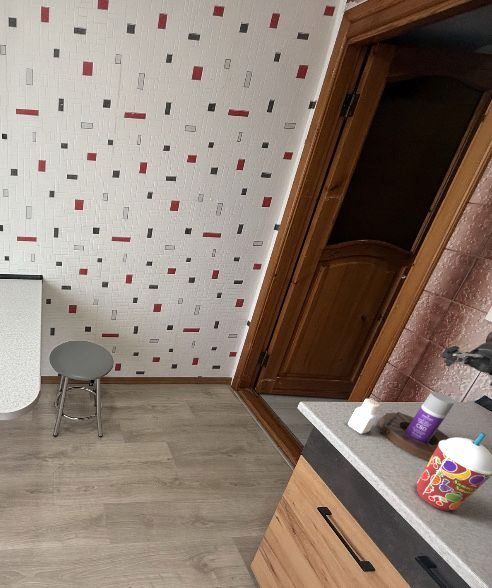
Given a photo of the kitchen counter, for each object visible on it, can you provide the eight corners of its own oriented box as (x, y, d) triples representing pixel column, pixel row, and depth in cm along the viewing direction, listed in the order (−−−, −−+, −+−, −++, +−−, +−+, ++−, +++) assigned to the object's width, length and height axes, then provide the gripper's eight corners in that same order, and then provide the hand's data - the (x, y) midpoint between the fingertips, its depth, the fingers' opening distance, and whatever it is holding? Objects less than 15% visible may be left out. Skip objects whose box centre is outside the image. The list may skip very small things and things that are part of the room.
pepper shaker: (355, 421, 96) (369, 396, 92) (369, 432, 93) (385, 406, 89) (346, 424, 95) (360, 398, 91) (360, 435, 92) (376, 408, 88)
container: (404, 440, 91) (432, 398, 85) (401, 430, 95) (428, 388, 88) (427, 449, 89) (458, 406, 83) (423, 438, 92) (452, 396, 86)
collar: (459, 448, 90) (464, 441, 89) (445, 473, 82) (450, 466, 81) (389, 412, 101) (393, 406, 100) (371, 431, 93) (375, 424, 92)
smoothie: (441, 520, 71) (496, 453, 62) (399, 484, 78) (444, 420, 70) (469, 514, 72) (526, 448, 64) (426, 479, 80) (472, 416, 72)
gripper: (466, 333, 98) (442, 346, 91) (540, 360, 87) (519, 378, 80) (452, 353, 101) (428, 367, 95) (522, 382, 90) (500, 401, 83)
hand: (470, 372), depth 87 cm, fingers open, 8 cm apart
